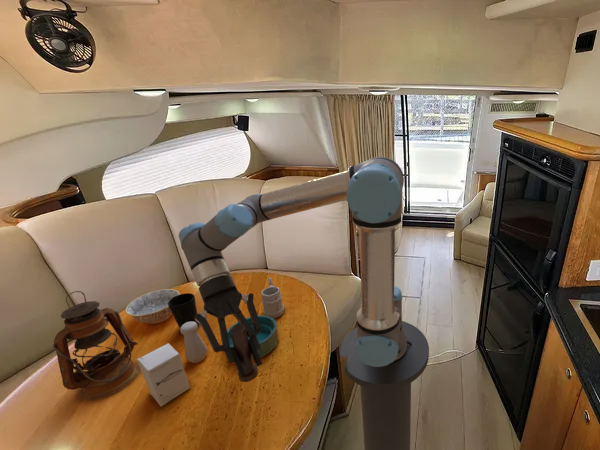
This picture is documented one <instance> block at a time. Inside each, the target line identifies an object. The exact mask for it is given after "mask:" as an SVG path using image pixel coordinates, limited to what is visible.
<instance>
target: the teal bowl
mask: <svg viewBox="0 0 600 450" xmlns="http://www.w3.org/2000/svg"><path fill="white" fill-rule="evenodd" d="M258 318H259V321H260V324H261V327H262V330H261V331H260V332H259V333H258V334H257V335H256V337H257V340H258V342H259V344H260V350H258V351H257V352H258V355H259V357H260V359H261V358H263V357H265V356H266V355H268V354H269V353H271V352H272V351H273V350H274V349H275V348H276V346H277V345H278V344H279V340H280V333H279V328H278V323H277V321H276V319H275V318H271V317H268V316H265V315H258ZM245 319H246V320H247V322H248V323H249V325H250V326H251V328H252V329H253V331H254V330H255V329H254V326H253V323H252V320H251V317H250V316H249V317H245ZM236 325H240V324H239V322H238V321H237V322H235V323H234V324H233V325H230V327H229V328H228V329H227V333H228V339H229V344H230V348H232V347H234V345H233V342H232V338H231V334H230V330H231V328H233V327H234V326H236ZM248 340H249V337H248ZM252 358H253V355H252ZM253 361H255V360H254V358H253Z"/></svg>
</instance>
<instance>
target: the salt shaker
mask: <svg viewBox="0 0 600 450" xmlns="http://www.w3.org/2000/svg"><path fill="white" fill-rule="evenodd" d="M198 328H199V327H198V326H197V323H196V322H192V321H190V322H187V323H185V324H183V325H182V326H181V328H179V331H180V334H182V335H183V339H184V357H185V359H186V360H187V361H189V362H190V363H193V364H197V363H200V362H202V361H204V360H205V358H206V357H207V354H208V347H207V345H206V343H205V342H204V340H203V339H202V337H201V336H200V334H199V333H198V331H197V330H198Z"/></svg>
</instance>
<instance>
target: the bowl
mask: <svg viewBox="0 0 600 450" xmlns="http://www.w3.org/2000/svg"><path fill="white" fill-rule="evenodd" d="M180 294H181V292H180V291H179V290H177V289H173V288H171V289H170V288H164V289H158V290H154V291H151V292H148V293H145V294H142V295H140V296H139V297H137V298H134V299H133V300H132V301H130V303H129V304H128V305H127V306H126V308H125V313H126V314H127V315H129V316H130V317H132V318H133V319H134V320H136V321H138V322H140V323H144V324H151V325H155V324H160V323H162V322H164V321H166V320H168V319H169V318H170V317H171V316H172V315H173V314H172V312H171V310H170V308H169V305H168V302H169V300H170V299H172V298H173V297H175V296H178V295H180Z"/></svg>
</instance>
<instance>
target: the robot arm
mask: <svg viewBox="0 0 600 450" xmlns="http://www.w3.org/2000/svg"><path fill="white" fill-rule="evenodd" d="M404 182H405V177H404V172H403V171H402V168H401V167H400V165H399V164H398V163H397V162H396V161H395V160H393V158H392V159H391V158H389V157H387V156H376V157H371V158H369V159H367V160H365V161H362V162H359V163H357V164H353V165H349V166H348V168H347V170H346V171H343V172H339V173H335V174H331V175H327V176H323V177H320V178H315V179H312V180H309V181H305V182H301V183H298V184H294V185H290V186H287V187H283V188H280V189H276V190H272V191H268V192H265V193H262V194H261V193H255V194H252V195H249V196H247V197H245V198H244V199H242V200H241V201H239V202H237V203H230V204H228V205H226V206H225V207H224V208H222V209H220V210H219V211H218V212H217V213H216V214H215V215H214V216H213V217H212V218H211V219H210V220H208V221H207V222H194V223H191V224H189V225H188V226H184V227H183V228H182V229H180V230H179V232H178V239H179V243H180V246H181V247H180V249H181V250H182V251H183V253H184V256H185V258H186V261H187V264H188V265H189V268H190V270H191V274H192V276H193V278H194V282H195V283H196V286H197V287H198V292H199V294H200V296H201V299H202V301H203V309H202V310H201V311H200V312H199V313H197V314H196V315H195V321H196V322H197V323H199V326H201V329H202V331H203V332H204V334H205V336H206V338H207V340H208V342H209V344H210V346H211V349H212V350H213V352H214V353H221V352H223V353H224V354H225V357H226V359H227V362H228V364H229V365H233V364H235V367H236V369H237V373H238V372H239V374H240V376H241V375H243V374H244V373H245V372H244V369H243V367H242V364H241V362H240V360H239V357H238V355H237V352H236V350H235V347H232V348H230V344H229V339H228V333H227V330H228V329H227V324H226V317H227V316H231V315H232V316H233V317H234V318H235V319H236V320H237V322H239V324H240V325H244V326H245V328H246V332H247V336H248V337H249V345H250V349H251V353H252V355H253V358H254V360H253V361H254V363H255V364H256V365H257V367H258V368H259V367H261V366H262V364H263V362H262V360H261V358H260V357H259V355H258V352H257V351H258V350H260V344H259V342H258V340H257V337H256V335H257V334H258V333H259V332H260V331H261V330H262V327H261V324H260V321H259V318H258V316H259V315H258V312H257V309H256V306H255V303H254V297H255V296H254V295H255V294H254V293H252V292H250V293H249V294H242V293H241V292H240V291H239V290H238V288H237V286H236V283H235V281H234V279H233V277H232V275H231V271H230V269H229V267H228V265H227V263H226V260H225V258H224V255H223V252H222V251H224V250H225V249H226V248H228V247H229V246H230V245H231V244H233V243H234V242H235V241H237V240H238V239H239V238H240V237H242V236H244V235H246V234H247V233H248V232H249V231H250V230H251V229H252V228H254V227H255V226H257V225H258V224H260V223H263V222H267V221H270V220H271V221H272V220H273V219H274V220H275V219H279V218H282V217H286V216H290V215H294V214H297V213H303V212H305V211H310V210H313V209H317V208H321V207H325V206H330V205H332V204H333V205H334V204H336V203H341V202H344V201H347V204H348V207H349V209H350V211H351V220H352V224H353V225H354V226H355V227H357V228H358V231H359V232H358V234H359V237H358V238H359V260H360V261H359V263H360V264H359V265H360V287H361V288H360V290H361V291H360V292H361V293H360V294H361V307H360V308H359V309H358V310H357V313H356V327H357V339H356V341H355V344H354V346H355V347H354V352H355V355H356V357H357V358H358V359H359V360H360V361H362V362H364V364H367V365H369V366H374V367H382V366H386V365H388V364H392V363H395V362H397V361H399V360H400V359H401V358H403V357H404V355H405V354H406V351H407V344H409V345H412V343H411V342H409V341H407V339H406V337H405V334H404V332H403V329H402V321H403V294H402V290H401V289H400V287H398V286H396V285H395V266H396V265H395V263H396V259H395V258H396V257H395V255H396V254H395V253H396V252H395V251H396V228H397V227H398V226H399V225H400V224H401V223H402V217H403V216H402V215H403V212H402V211H403V188H404ZM242 301H243V303H244V304H246V308H247V311H248V314H249V317H251V320H252V323H253V326H254V329H255V330H254V331H253V329H252V328H251V326H250V325H249V323H248V322H247V320H246V319H245V318H246V317H245V315H244V314H243V312H242V311H241V309H240V305H241V302H242ZM207 314H208V315H211V316H212V317H215V318H216V319H217V324H218V327H219V334H220V339H221V343H222V344H219V343H220V342H219V341H218V339H217V337H216V336H215V333H214V331H213V329H212V328H211V326H210V324H209V322H208V320H207V319H208V315H207Z"/></svg>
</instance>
